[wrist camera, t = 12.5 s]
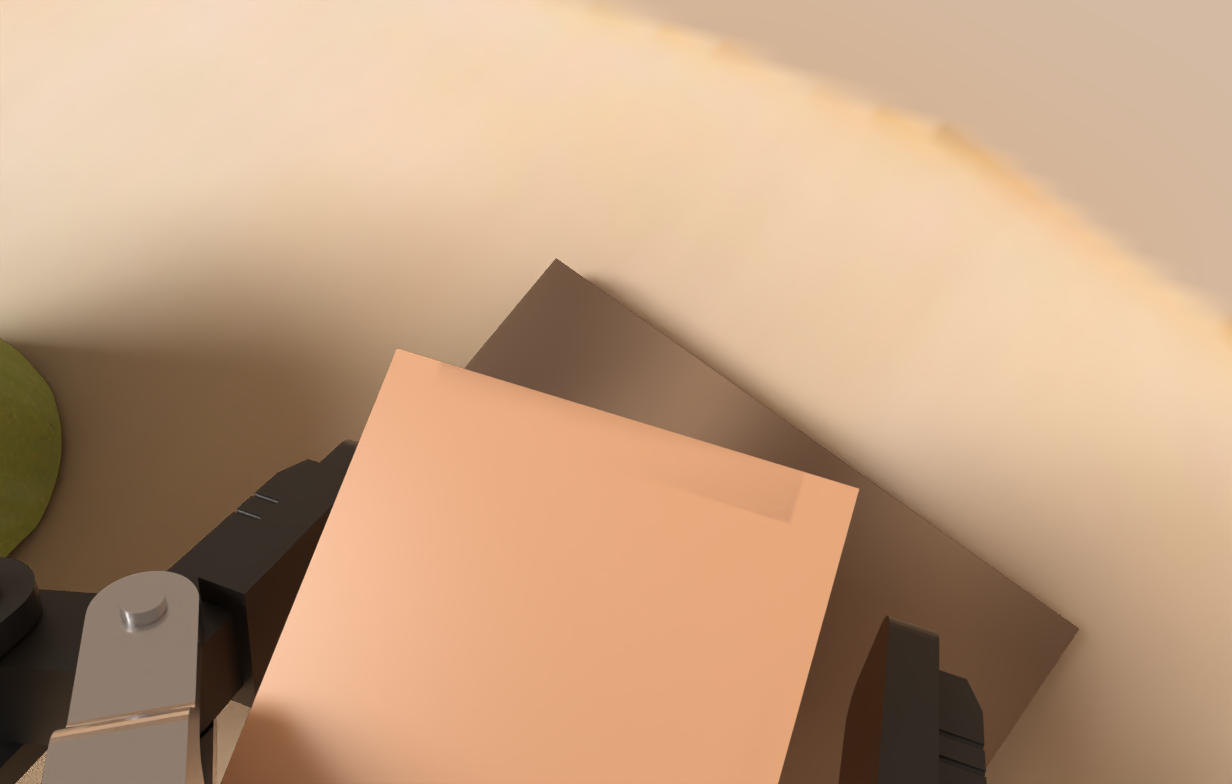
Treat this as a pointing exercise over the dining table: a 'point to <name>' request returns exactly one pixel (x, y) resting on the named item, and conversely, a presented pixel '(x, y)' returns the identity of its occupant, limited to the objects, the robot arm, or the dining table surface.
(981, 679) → the plate
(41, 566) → the dining table surface
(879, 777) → the robot arm
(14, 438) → the plant pot
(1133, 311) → the dining table surface
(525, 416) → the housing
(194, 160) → the dining table surface
